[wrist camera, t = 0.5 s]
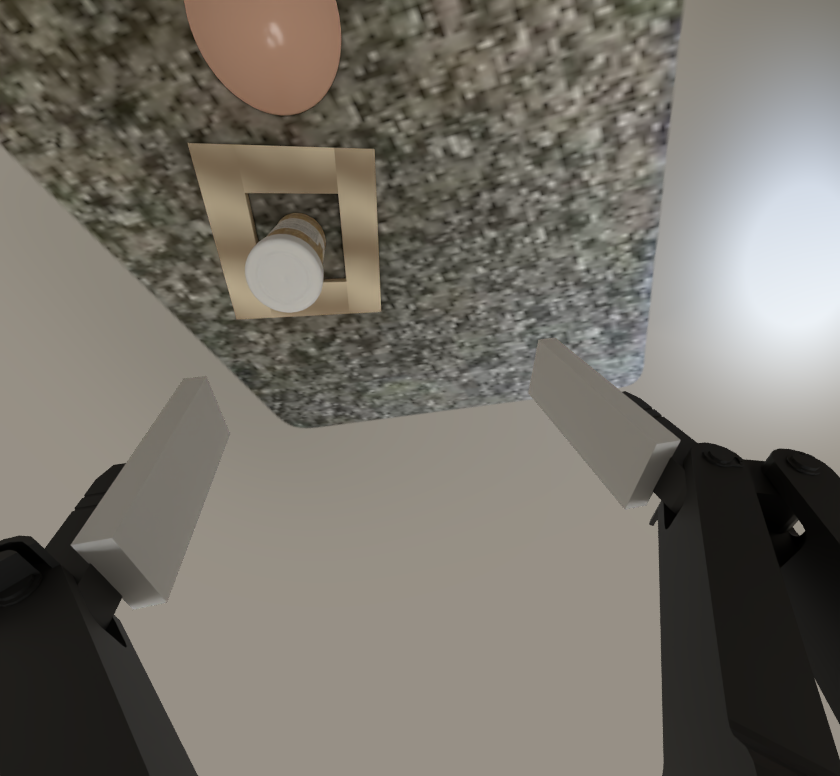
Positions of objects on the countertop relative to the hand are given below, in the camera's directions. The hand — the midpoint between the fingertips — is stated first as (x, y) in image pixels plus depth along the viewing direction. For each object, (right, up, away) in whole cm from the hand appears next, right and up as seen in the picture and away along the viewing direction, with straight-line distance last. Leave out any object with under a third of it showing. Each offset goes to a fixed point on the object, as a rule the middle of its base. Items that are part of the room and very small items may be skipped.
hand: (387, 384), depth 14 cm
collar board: (-10, +14, +18) cm, 25 cm away
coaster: (-9, +25, +10) cm, 29 cm away
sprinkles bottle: (-10, +14, +18) cm, 25 cm away
